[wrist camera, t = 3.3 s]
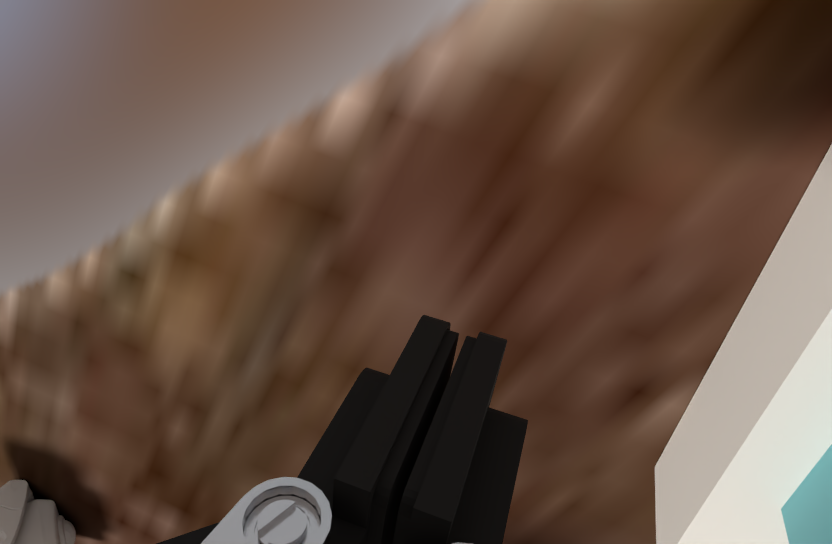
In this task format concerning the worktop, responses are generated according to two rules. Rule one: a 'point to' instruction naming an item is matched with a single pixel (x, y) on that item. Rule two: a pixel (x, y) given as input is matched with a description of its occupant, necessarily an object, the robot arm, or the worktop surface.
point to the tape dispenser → (31, 518)
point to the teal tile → (811, 506)
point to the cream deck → (759, 397)
